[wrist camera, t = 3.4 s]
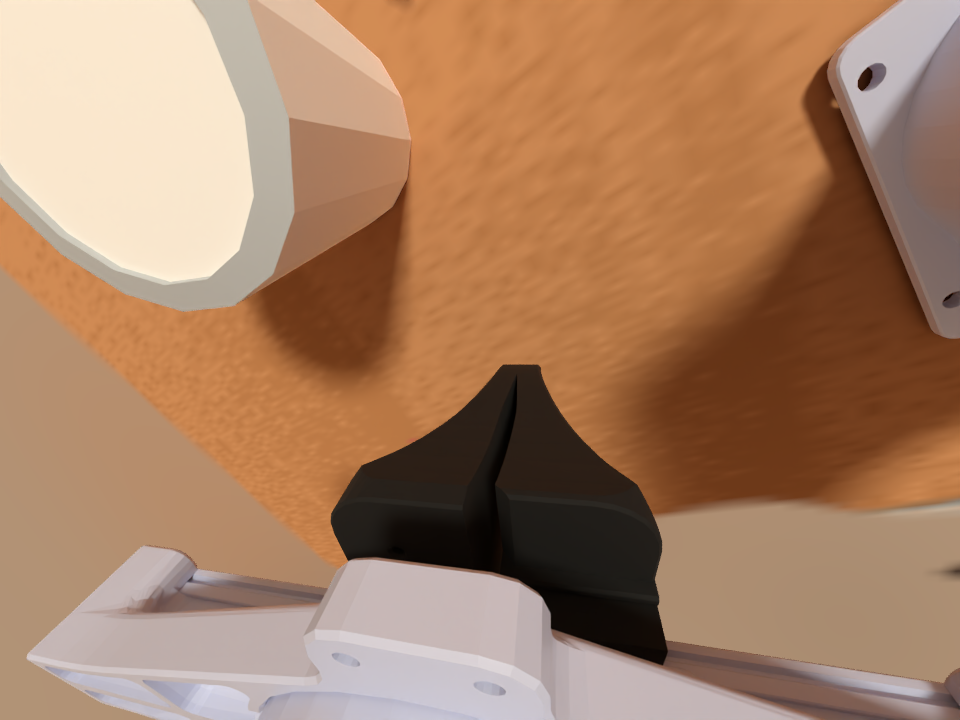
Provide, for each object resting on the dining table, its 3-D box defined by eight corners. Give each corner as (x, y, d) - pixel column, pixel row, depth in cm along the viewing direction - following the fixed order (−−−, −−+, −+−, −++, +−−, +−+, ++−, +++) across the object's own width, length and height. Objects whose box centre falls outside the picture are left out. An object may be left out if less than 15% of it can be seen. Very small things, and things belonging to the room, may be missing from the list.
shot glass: (267, 238, 14) (44, 298, 8) (201, -4, 10) (-311, -247, 4) (433, 251, 13) (329, 331, 7) (424, -11, 9) (184, -339, 3)
